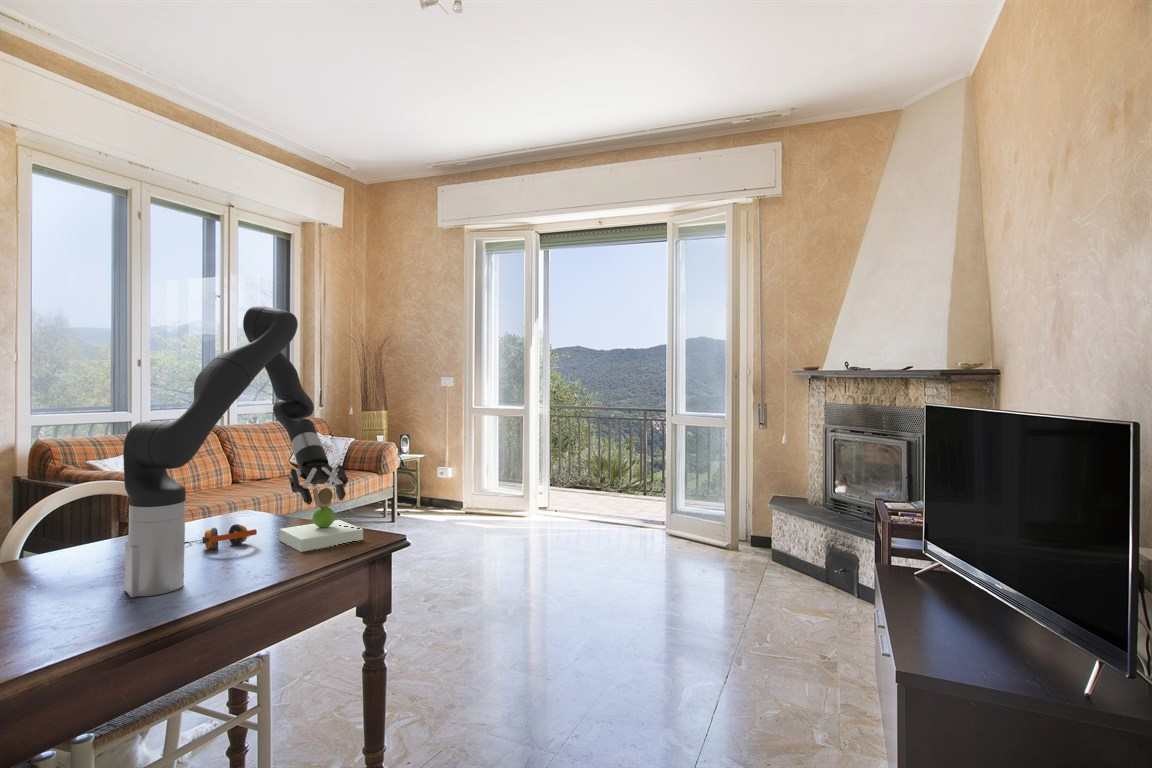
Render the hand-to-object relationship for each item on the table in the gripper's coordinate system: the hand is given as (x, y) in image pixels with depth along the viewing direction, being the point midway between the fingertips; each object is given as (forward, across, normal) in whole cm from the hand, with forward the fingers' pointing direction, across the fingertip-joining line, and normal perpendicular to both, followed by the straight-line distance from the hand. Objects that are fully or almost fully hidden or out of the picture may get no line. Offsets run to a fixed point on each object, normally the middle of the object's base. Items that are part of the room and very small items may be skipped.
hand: (326, 500), depth 158 cm
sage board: (+7, -1, +8) cm, 10 cm away
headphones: (0, -21, +16) cm, 26 cm away
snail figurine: (+4, 0, +6) cm, 8 cm away
